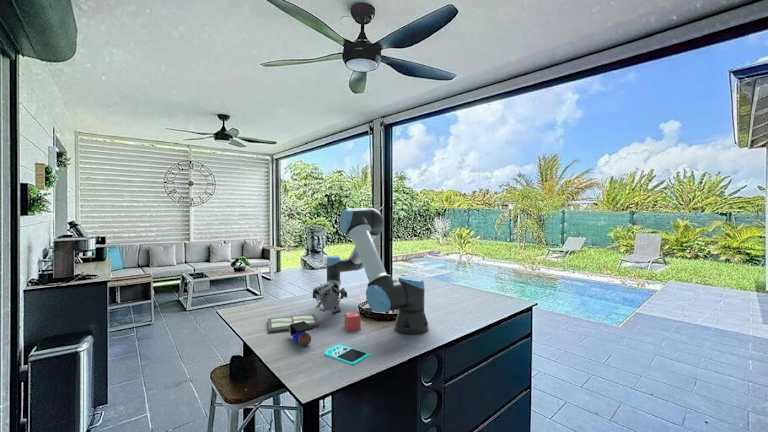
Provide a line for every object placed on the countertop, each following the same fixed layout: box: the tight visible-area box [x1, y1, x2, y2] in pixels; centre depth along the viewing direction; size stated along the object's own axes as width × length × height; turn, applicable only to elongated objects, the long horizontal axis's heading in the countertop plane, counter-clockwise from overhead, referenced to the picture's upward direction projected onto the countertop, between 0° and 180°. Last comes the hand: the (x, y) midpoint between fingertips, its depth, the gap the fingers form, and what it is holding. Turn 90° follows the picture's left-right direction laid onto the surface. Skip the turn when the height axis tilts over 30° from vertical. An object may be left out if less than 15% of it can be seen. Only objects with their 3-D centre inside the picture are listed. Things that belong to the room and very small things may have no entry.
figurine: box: [312, 281, 342, 316], centre depth 167 cm, size 9×12×15 cm
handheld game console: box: [323, 343, 371, 366], centre depth 131 cm, size 10×16×1 cm, turn 55°
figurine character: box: [288, 321, 314, 347], centre depth 144 cm, size 7×8×15 cm
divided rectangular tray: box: [267, 313, 320, 334], centre depth 163 cm, size 16×22×2 cm
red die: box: [344, 311, 362, 331], centre depth 158 cm, size 6×6×6 cm
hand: (328, 299), depth 164 cm, fingers closed on figurine, 10 cm apart
